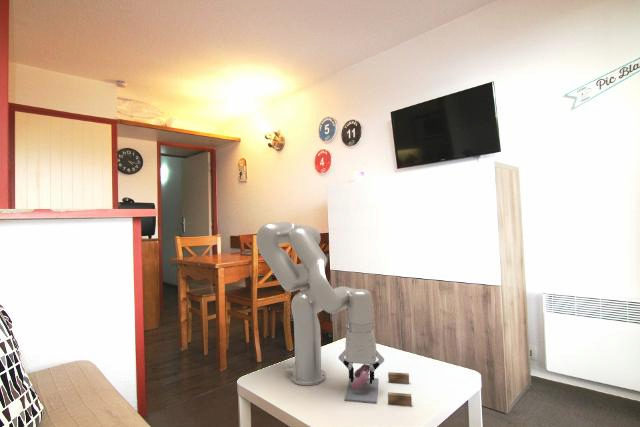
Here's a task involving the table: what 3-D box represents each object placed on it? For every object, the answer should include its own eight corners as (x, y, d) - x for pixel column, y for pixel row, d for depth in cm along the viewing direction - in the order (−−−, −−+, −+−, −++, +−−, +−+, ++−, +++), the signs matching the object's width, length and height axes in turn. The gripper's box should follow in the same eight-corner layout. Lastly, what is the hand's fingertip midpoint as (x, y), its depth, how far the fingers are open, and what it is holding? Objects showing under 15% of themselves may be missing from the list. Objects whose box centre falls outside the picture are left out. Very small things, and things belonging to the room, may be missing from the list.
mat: (344, 401, 108) (344, 399, 108) (350, 378, 123) (350, 376, 123) (376, 403, 106) (376, 401, 106) (378, 380, 121) (378, 378, 121)
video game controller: (363, 395, 109) (372, 376, 109) (350, 388, 110) (359, 369, 110) (365, 381, 119) (373, 363, 119) (353, 374, 120) (361, 357, 120)
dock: (388, 404, 105) (387, 394, 105) (388, 380, 121) (388, 372, 121) (411, 406, 104) (411, 396, 104) (408, 382, 119) (408, 373, 119)
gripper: (333, 329, 113) (334, 384, 113) (386, 331, 110) (387, 388, 109) (336, 322, 120) (337, 374, 120) (386, 324, 117) (387, 378, 117)
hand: (361, 380), depth 115 cm, fingers closed on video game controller, 5 cm apart
